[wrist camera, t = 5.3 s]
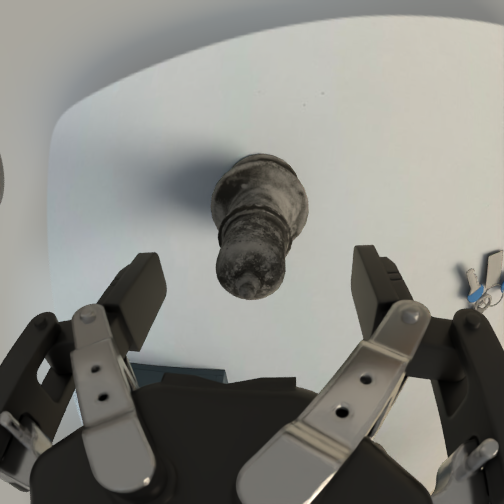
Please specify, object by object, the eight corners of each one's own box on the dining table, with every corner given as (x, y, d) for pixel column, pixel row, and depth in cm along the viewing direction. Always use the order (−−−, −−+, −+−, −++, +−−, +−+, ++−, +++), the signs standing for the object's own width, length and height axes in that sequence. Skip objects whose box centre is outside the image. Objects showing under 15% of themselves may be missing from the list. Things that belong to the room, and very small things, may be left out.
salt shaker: (300, 230, 23) (315, 355, 12) (221, 226, 23) (177, 345, 13) (307, 152, 20) (340, 228, 10) (219, 148, 20) (157, 219, 10)
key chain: (460, 347, 28) (463, 352, 27) (414, 331, 27) (416, 336, 26) (535, 248, 21) (539, 253, 20) (498, 214, 20) (503, 218, 19)
